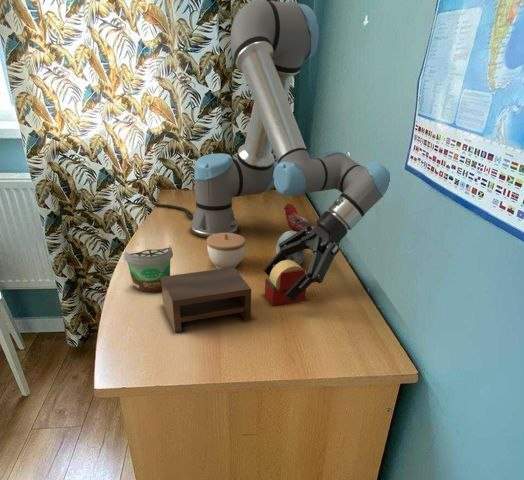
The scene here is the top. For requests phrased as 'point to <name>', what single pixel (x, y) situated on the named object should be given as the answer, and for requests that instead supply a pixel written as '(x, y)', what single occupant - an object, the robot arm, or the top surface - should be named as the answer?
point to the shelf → (205, 295)
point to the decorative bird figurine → (295, 218)
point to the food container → (149, 268)
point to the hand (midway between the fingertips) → (277, 285)
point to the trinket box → (225, 249)
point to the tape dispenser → (283, 282)
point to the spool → (296, 256)
